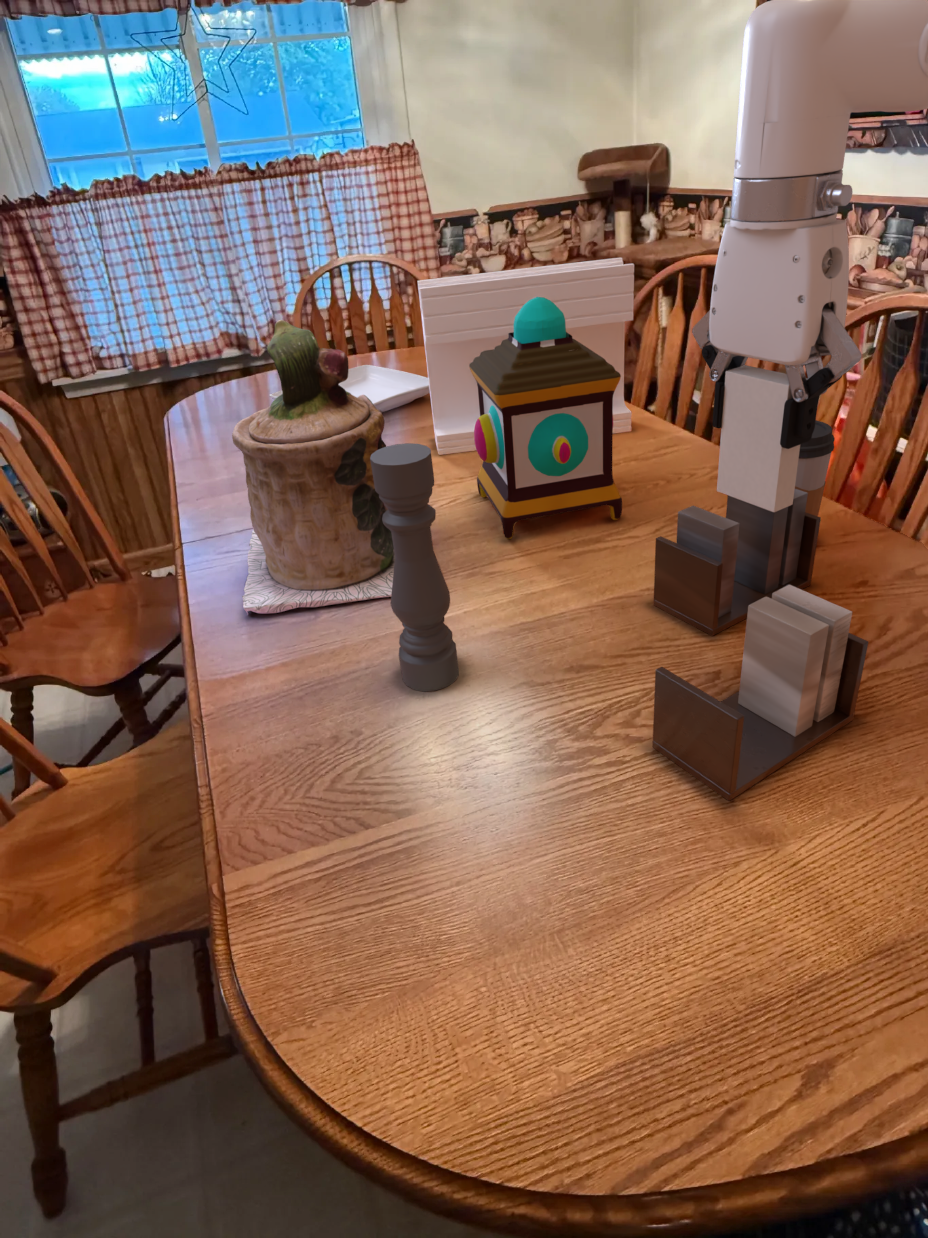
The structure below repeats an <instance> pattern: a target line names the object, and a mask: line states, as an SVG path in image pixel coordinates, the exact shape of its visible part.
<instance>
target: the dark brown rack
mask: <svg viewBox="0 0 928 1238" xmlns="http://www.w3.org/2000/svg"><path fill="white" fill-rule="evenodd" d="M852 617H853V611H852V610H850V609H848V608H845V607H843V606H840V605H838V604H835V603H833V602H831V601H829V600H826V599H824V598H822V597H820V596H817V595H815V594H813V593H810V592H807V591H806V590H804V589H802V590H801V589H799V588H796V587H794V586H792V585H788V586H786V587H784V588H782V589H780V590H778V591H776V592H774V593H773V594H772V599H771V598H769V597H764V598H762V599H760V600H758V601H756V602H754V603H752V604H750V605H749V606H748V614H747V618H746V624H745V635H744V642H743V643H744V644H743V654H742V660H741V661H742V662H741V669H740V671H741V672H740V681H739V689H738V691H736V692H735V693H733V694H732V695H729V696H728V697H726V698H724V699H722V700H721V701H720V700H719V699H717V698H716V697H714V696H712V695H711V694H708V693H707V692H705V691H703V690H702V689H700V688H699V687H697V686H695V685H694V684H692V683H690V682H689V681H687V680H685V679H683V678H682V677H680V676H679V675H677V674H675V673H674V672H672V671H670V670H668V669H667V668H665V667H663V666H660V667H657V668H656V669H655V671H654V674H655V675H654V695H653V696H654V697H653V703H654V704H653V724H652V743H651V744H652V745H651V746H652V749H654V750H656V751H657V752H659V754H662V755H663V756H664V757H665V758H667V759H668V760H670V761H672V762H673V763H674V764H676V765H677V766H678V767H680V768H681V769H683V770H684V771H685V772H687V773H689V775H691V776H693V777H694V778H695V779H697V780H698V781H700V782H701V783H702V784H704V785H706V786H707V787H708V788H709V789H711V790H712V791H714V792H715V793H717V794H718V795H719V796H721V797H723V799H725V800H726V801H728V802H730V801H732V800H733V799H734V798H736V797H738V796H739V795H740V794H742V793H744V792H745V791H747V790H748V789H750V788H752V787H753V786H754V785H756V784H757V783H759V782H761V781H762V780H763V779H766V778H768V776H770V775H772V774H773V773H774V772H776V771H778V770H779V769H781V768H782V767H783V766H785V765H787V764H788V763H789V762H791V761H793V760H794V759H796V758H797V757H799V756H800V755H803V754H804V753H806V752H807V751H808V750H809V749H812V748H813V747H814V746H815V745H817V744H819V743H820V742H821V741H823V740H825V739H826V738H828V737H829V736H831V735H832V734H834V733H835V732H837V731H839V730H840V729H841V728H843V727H845V726H847V724H849V723H851V722H852V721H853V720H854V717H855V711H856V706H857V701H858V697H859V692H860V687H861V681H862V677H863V672H864V667H865V661H866V656H867V652H868V647H869V641H868V640H866V639H864V638H861V637H859V636H857V635H855V634H853V633H851V632H850V627H851V623H852Z"/></svg>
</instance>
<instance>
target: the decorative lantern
mask: <svg viewBox="0 0 928 1238" xmlns="http://www.w3.org/2000/svg"><path fill="white" fill-rule="evenodd" d="M469 368H470V371H471V373H472V375H473V376H474V378H475V380H476V382H477V386H478V396H479V408H480V417H479V418H478V419H477V421H476V424H475V428H474V441H475V447H476V450H475V451H476V452H477V454H478V457H480V459H481V461H482V464H481V466H480V468H479V471H478V474H477V477H476V485H477V491H478V494H479V496H480V497H481V498H483V499H484V498H487V499H488V500H489V502H490V503H491V505H492V506H493V508H494V510H495V511H496V513H497V514H498V516H499V518H500V521H501V527H502V533H503V536H504V538H505V539H507V540H510V539H511V540H512V538H513V537H514V529H515V525H516V523H518V522H520V521H523V520H525V521H526V520H531V519H535V518H543V517H548V516H553V515H554V516H555V515H559V514H565V513H571V512H576V511H582V510H588V509H592V508H599V507H605V506H608V508H609V516H610V518H611V519H612V520H613V521H618V520H620V519H621V517H622V513H623V499H622V496H621V493H620V491H619V489H618V487H617V485H616V483H615V481H614V476H613V435H614V433H613V394H614V391H615V389H616V387H617V385H618V383H619V381H620V378H621V375H620V373H619V372H617V371H616V370H615V368H614V367H613V366H612V365H611V364H609V363H608V362H606V360H605V359H604V358H602V357H601V356H599V355H598V354H596V353H595V352H593V351H592V350H590V349H589V348H587V347H586V346H584V345H583V344H581V343H580V342H578V341H576V340H575V339H573V338H572V336H571V335H570V334H568V333H567V332H566V324H565V318H564V314H563V312H562V311H561V310H560V309H559V308H558V307H557V306H556V305H555V304H554V303H553V302H551V301H550V300H548V299H546V298H544V297H536V298H533V299H531V300H529V301H528V302H527V303H526V304H524V305H523V307H522V308H521V309H520V311H519V312H518V313H517V315H516V316H515V320H514V332H512V333H508V339H505V340H503V341H502V343H501V345H498V346H496V347H495V349H493V350H486V351H483V352H481V353H480V356H478V357H475V358H474V360H473V362H471V363H470V364H469Z"/></svg>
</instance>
